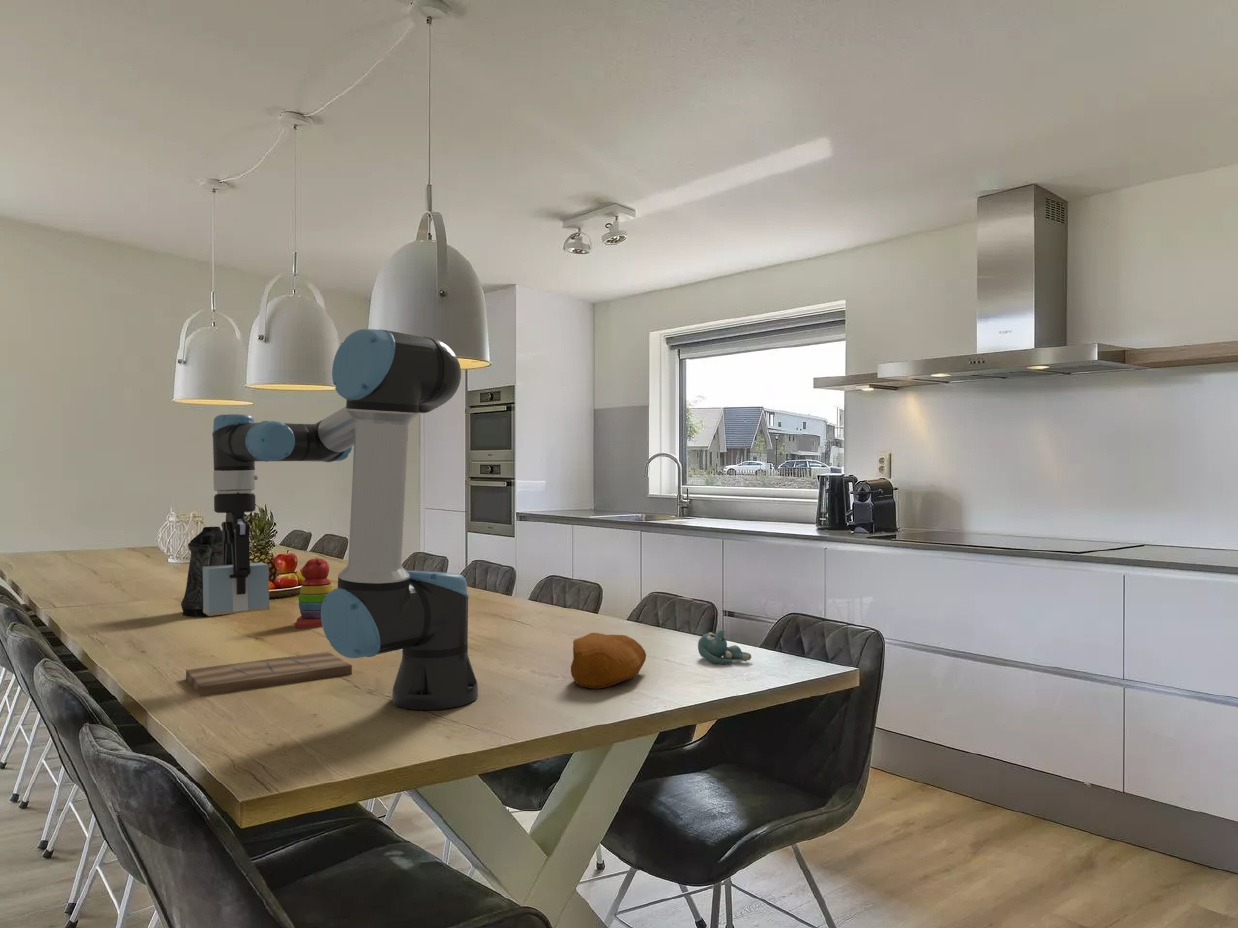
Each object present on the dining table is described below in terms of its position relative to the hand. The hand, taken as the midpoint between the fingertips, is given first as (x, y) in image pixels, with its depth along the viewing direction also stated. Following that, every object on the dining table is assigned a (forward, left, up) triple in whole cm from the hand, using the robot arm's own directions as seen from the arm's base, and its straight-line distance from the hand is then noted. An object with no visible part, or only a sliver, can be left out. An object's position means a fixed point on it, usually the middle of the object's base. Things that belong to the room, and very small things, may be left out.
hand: (236, 608), depth 170 cm
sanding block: (0, 0, -1) cm, 1 cm away
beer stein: (+89, -12, -14) cm, 91 cm away
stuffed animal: (-45, -89, -15) cm, 101 cm away
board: (-1, -6, -14) cm, 15 cm away
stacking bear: (+52, -30, -14) cm, 62 cm away
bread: (-44, -60, -15) cm, 76 cm away
